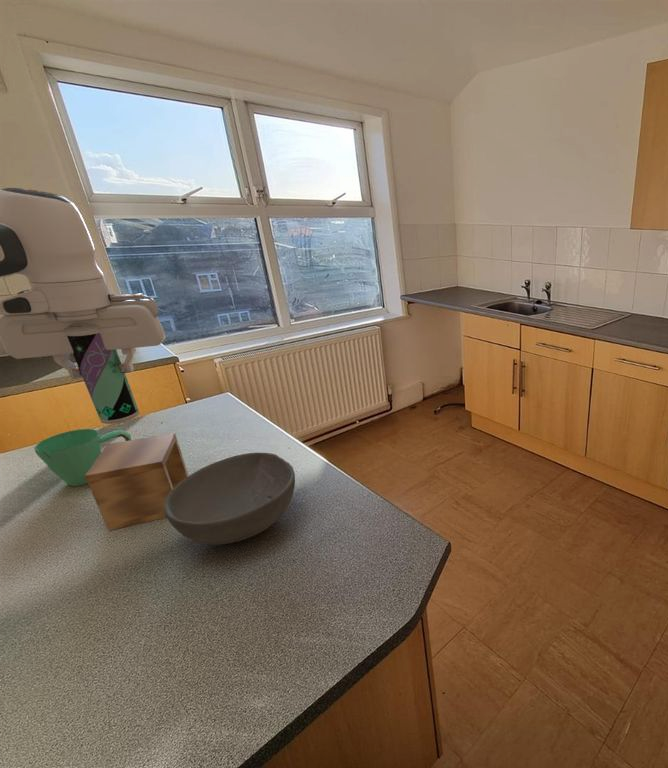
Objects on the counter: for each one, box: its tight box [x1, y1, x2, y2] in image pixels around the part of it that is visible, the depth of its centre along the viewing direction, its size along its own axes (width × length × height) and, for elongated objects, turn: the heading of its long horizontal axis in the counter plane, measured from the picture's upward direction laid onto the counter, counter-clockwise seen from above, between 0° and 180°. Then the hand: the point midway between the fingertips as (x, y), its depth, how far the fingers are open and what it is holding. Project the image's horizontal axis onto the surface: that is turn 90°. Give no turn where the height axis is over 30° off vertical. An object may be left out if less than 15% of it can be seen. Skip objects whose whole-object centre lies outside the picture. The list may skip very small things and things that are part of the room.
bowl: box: [164, 452, 296, 545], centre depth 80 cm, size 20×20×10 cm
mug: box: [33, 428, 132, 487], centre depth 94 cm, size 15×10×10 cm
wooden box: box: [85, 432, 189, 531], centre depth 85 cm, size 11×12×12 cm
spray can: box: [64, 323, 140, 425], centre depth 76 cm, size 6×6×20 cm
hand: (103, 374), depth 76 cm, fingers closed on spray can, 5 cm apart
